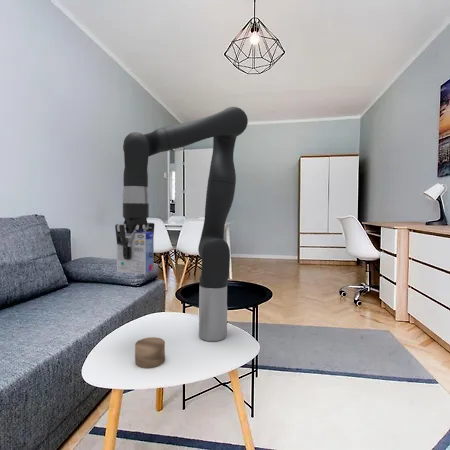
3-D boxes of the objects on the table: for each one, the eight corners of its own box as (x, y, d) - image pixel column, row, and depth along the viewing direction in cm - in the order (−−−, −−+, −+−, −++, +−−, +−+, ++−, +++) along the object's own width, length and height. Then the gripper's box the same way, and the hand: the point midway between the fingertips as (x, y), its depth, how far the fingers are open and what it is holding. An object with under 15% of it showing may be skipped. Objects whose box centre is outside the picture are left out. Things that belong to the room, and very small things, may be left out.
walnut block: (149, 351, 93) (149, 335, 93) (170, 358, 89) (170, 341, 89) (128, 363, 86) (128, 345, 86) (151, 371, 82) (151, 352, 82)
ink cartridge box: (155, 270, 97) (154, 223, 95) (146, 274, 91) (145, 225, 90) (126, 268, 99) (125, 223, 98) (116, 272, 93) (115, 224, 92)
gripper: (126, 201, 86) (126, 262, 87) (161, 202, 98) (161, 255, 99) (107, 201, 89) (108, 260, 90) (143, 202, 102) (143, 253, 103)
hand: (136, 257), depth 95 cm, fingers closed on ink cartridge box, 6 cm apart
